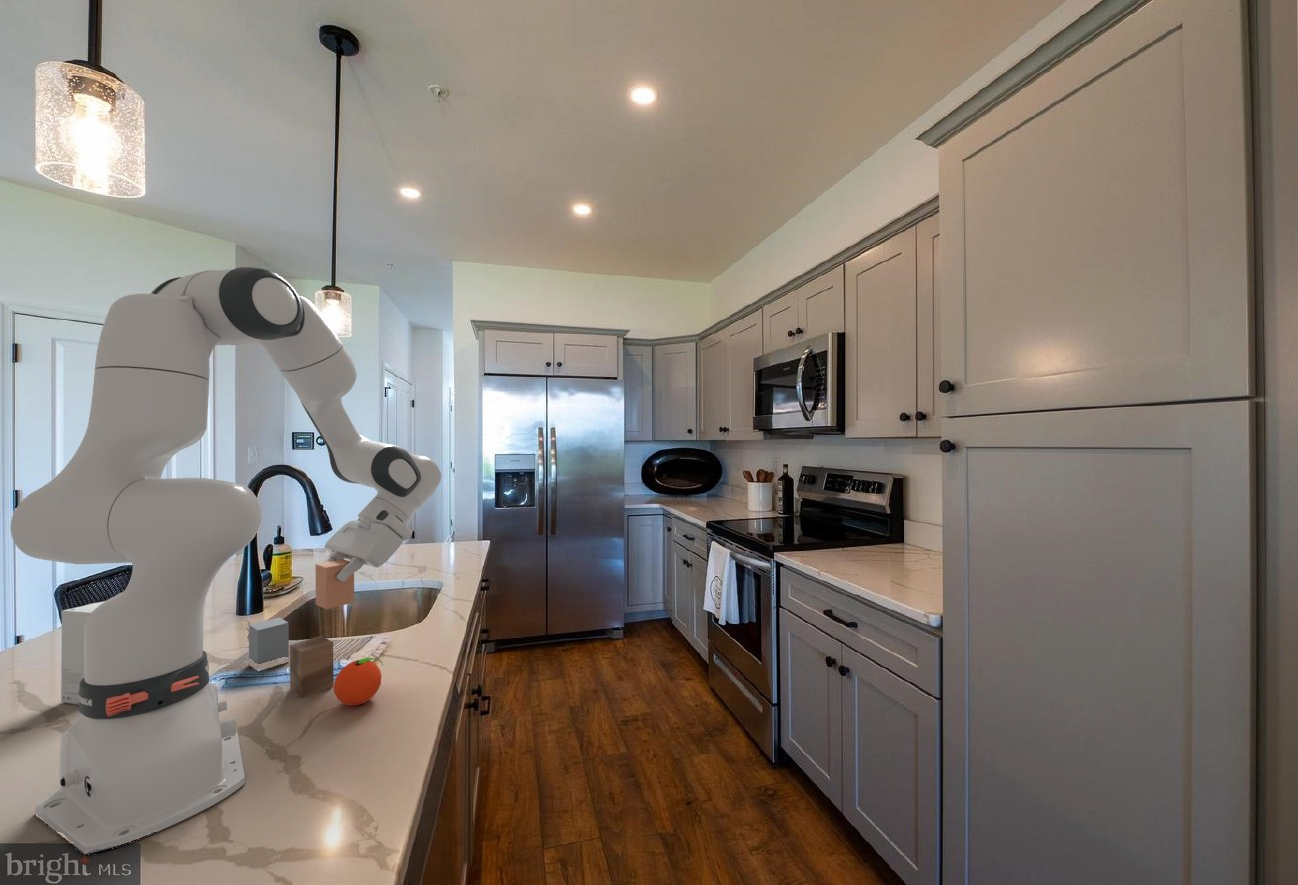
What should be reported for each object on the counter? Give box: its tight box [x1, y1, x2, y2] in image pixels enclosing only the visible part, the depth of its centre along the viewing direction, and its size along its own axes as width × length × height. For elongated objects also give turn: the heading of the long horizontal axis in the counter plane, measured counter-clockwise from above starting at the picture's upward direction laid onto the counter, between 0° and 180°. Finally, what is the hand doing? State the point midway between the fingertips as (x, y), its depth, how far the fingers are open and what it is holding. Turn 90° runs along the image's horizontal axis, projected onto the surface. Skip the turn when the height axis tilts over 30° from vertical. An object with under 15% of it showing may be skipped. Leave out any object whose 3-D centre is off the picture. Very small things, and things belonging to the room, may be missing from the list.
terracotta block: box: [315, 559, 355, 610], centre depth 99 cm, size 5×5×8 cm
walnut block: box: [289, 635, 335, 699], centre depth 88 cm, size 5×5×8 cm
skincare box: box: [60, 600, 106, 706], centre depth 87 cm, size 8×7×16 cm
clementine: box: [333, 657, 384, 707], centre depth 84 cm, size 8×7×7 cm
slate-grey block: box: [248, 617, 290, 664], centre depth 98 cm, size 5×5×8 cm
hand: (331, 577), depth 98 cm, fingers closed on terracotta block, 5 cm apart
